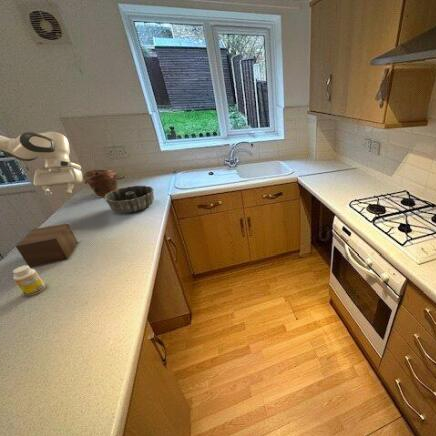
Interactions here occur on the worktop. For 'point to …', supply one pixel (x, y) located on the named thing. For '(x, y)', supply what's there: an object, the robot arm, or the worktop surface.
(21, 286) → the supplement bottle
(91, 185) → the terracotta flower pot
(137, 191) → the bundt pan
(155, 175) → the worktop surface
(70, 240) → the brown box
